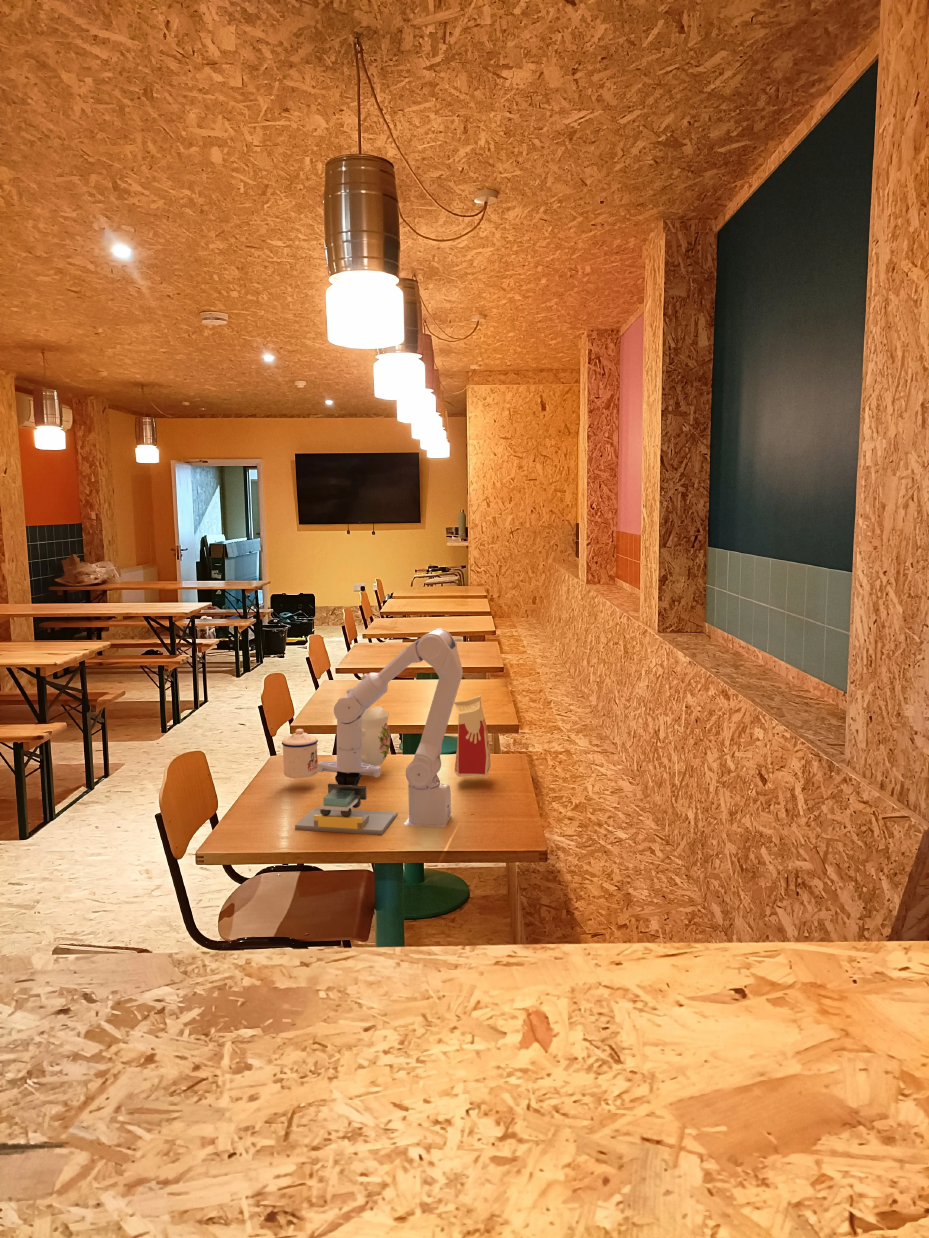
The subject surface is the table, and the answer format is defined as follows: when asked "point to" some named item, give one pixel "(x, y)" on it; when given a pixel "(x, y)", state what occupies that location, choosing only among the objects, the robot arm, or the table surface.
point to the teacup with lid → (300, 755)
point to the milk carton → (472, 740)
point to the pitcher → (375, 736)
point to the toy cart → (343, 798)
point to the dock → (347, 822)
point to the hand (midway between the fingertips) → (348, 803)
